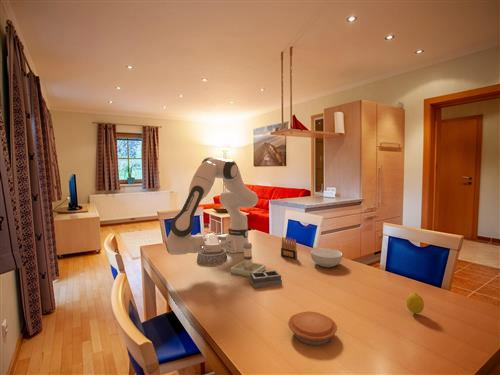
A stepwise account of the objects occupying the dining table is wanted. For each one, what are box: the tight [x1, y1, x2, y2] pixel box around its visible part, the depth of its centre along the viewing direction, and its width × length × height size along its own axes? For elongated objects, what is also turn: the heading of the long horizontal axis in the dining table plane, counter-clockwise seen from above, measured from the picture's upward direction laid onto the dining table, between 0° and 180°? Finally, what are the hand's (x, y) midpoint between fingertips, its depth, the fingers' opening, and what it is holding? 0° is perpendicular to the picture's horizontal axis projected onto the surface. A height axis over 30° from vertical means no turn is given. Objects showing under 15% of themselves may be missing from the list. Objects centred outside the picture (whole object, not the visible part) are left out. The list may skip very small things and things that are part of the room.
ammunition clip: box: [280, 236, 298, 260], centre depth 168 cm, size 11×2×12 cm, turn 47°
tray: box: [230, 260, 266, 278], centre depth 147 cm, size 14×12×3 cm
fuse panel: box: [249, 269, 283, 289], centre depth 133 cm, size 13×9×4 cm
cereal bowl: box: [310, 247, 343, 268], centre depth 155 cm, size 17×17×7 cm
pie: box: [287, 311, 338, 346], centre depth 92 cm, size 15×16×5 cm
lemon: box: [405, 292, 425, 315], centre depth 103 cm, size 6×6×8 cm
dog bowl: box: [196, 248, 228, 265], centre depth 167 cm, size 17×18×5 cm
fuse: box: [243, 242, 253, 271], centre depth 146 cm, size 4×4×14 cm
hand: (227, 240), depth 143 cm, fingers open, 8 cm apart
